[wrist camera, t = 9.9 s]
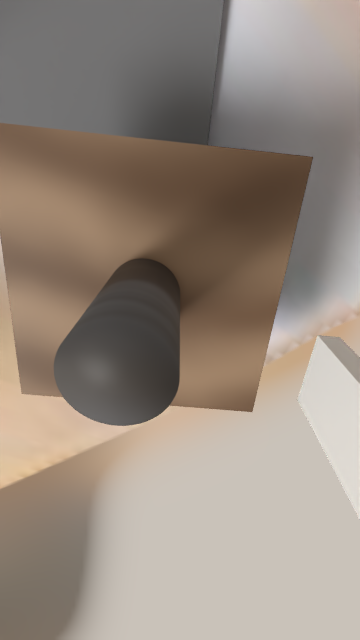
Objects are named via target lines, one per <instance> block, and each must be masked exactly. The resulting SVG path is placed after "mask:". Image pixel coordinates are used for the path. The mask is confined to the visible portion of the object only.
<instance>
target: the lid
mask: <svg viewBox="0 0 360 640" xmlns="http://www.w3.org/2000/svg"><path fill="white" fill-rule="evenodd" d="M312 159H313V157H309V156H300V155H290V154H281V153H272V152H263V151H254V150H245V149H235V148H226V147H217V146H208V145H199V144H190V143H181V142H171V141H162V140H153V139H144V138H135V137H126V136H116V135H107V134H98V133H89V132H80V131H71V130H61V129H52V128H43V127H34V126H25V125H16V124H7V123H0V236H1V243H2V251H3V258H4V266H5V273H6V281H7V288H8V295H9V303H10V310H11V318H12V325H13V332H14V340H15V347H16V355H17V362H18V370H19V377H20V384H21V392H22V394H30V395H43V396H56V397H64V399H65V400H66V401H67V402H68V403H69V404H70V405H71V406H72V407H73V408H74V409H75V410H77V411H78V412H79V413H81V414H82V415H84V416H86V417H88V418H90V419H92V420H94V421H97V422H100V423H104V424H109V425H118V426H126V425H134V424H139V423H143V422H146V421H148V420H151V419H153V418H154V417H156V416H158V415H159V414H161V413H162V412H163V411H164V410H165V409H166V408H167V407H168V406H169V405H170V406H183V407H196V408H209V409H222V410H234V411H247V412H252V411H253V407H254V402H255V398H256V394H257V389H258V386H259V381H260V377H261V373H262V369H263V365H264V361H265V356H266V352H267V348H268V344H269V340H270V335H271V331H272V327H273V323H274V319H275V314H276V310H277V306H278V302H279V298H280V293H281V289H282V285H283V281H284V277H285V273H286V268H287V264H288V260H289V256H290V252H291V247H292V243H293V239H294V235H295V231H296V226H297V222H298V218H299V214H300V210H301V205H302V201H303V197H304V193H305V189H306V184H307V180H308V176H309V172H310V168H311V164H312Z"/></svg>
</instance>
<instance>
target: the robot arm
mask: <svg viewBox="0 0 360 640" xmlns="http://www.w3.org/2000/svg"><path fill="white" fill-rule="evenodd" d="M298 402H299V404H300V406H301V408H302V410H303V412H304V414H305V415H306V418H307V419H308V421H309V423H310V425H311V427H312V429H313V431H314V433H315V435H316V437H317V439H318V441H319V442H320V444H321V446H322V448H323V450H324V452H325V454H326V456H327V458H328V460H329V462H330V464H331V466H332V467H333V469H334V471H335V473H336V475H337V477H338V479H339V481H340V483H341V485H342V487H343V489H344V490H345V492H346V494H347V496H348V498H349V500H350V502H351V504H352V506H353V508H354V510H355V511H356V513H357V515H358V517H359V519H360V357H359V356H358V355H357V354H356V353H355V352H354V351H353V350H352V349H351V348H350V347H349V346H348V345H347V344H346V343H345V342H344V341H343V340H342V339H341V338H340V337H330V336H320V335H318V336H317V339H316V343H315V346H314V349H313V352H312V355H311V358H310V362H309V365H308V368H307V371H306V374H305V378H304V381H303V384H302V387H301V390H300V393H299V397H298Z"/></svg>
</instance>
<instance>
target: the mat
mask: <svg viewBox="0 0 360 640" xmlns="http://www.w3.org/2000/svg"><path fill="white" fill-rule="evenodd" d="M223 4H224V0H0V123H7V124H16V125H25V126H34V127H43V128H52V129H61V130H71V131H80V132H89V133H98V134H107V135H116V136H126V137H135V138H144V139H153V140H162V141H171V142H181V143H190V144H199V145H208V136H209V127H210V118H211V110H212V101H213V92H214V83H215V74H216V66H217V57H218V48H219V39H220V30H221V22H222V13H223Z"/></svg>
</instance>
